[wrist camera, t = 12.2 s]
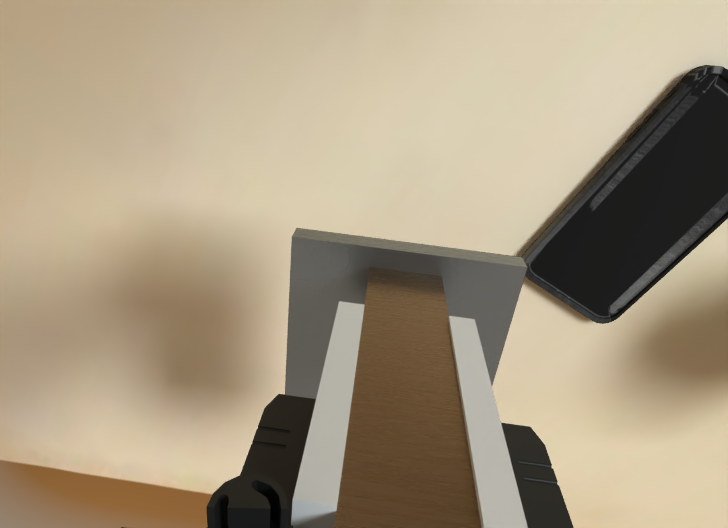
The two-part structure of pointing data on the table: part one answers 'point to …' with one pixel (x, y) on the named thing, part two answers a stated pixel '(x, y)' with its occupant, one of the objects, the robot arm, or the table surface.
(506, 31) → the table surface
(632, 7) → the table surface
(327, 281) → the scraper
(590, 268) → the phone
